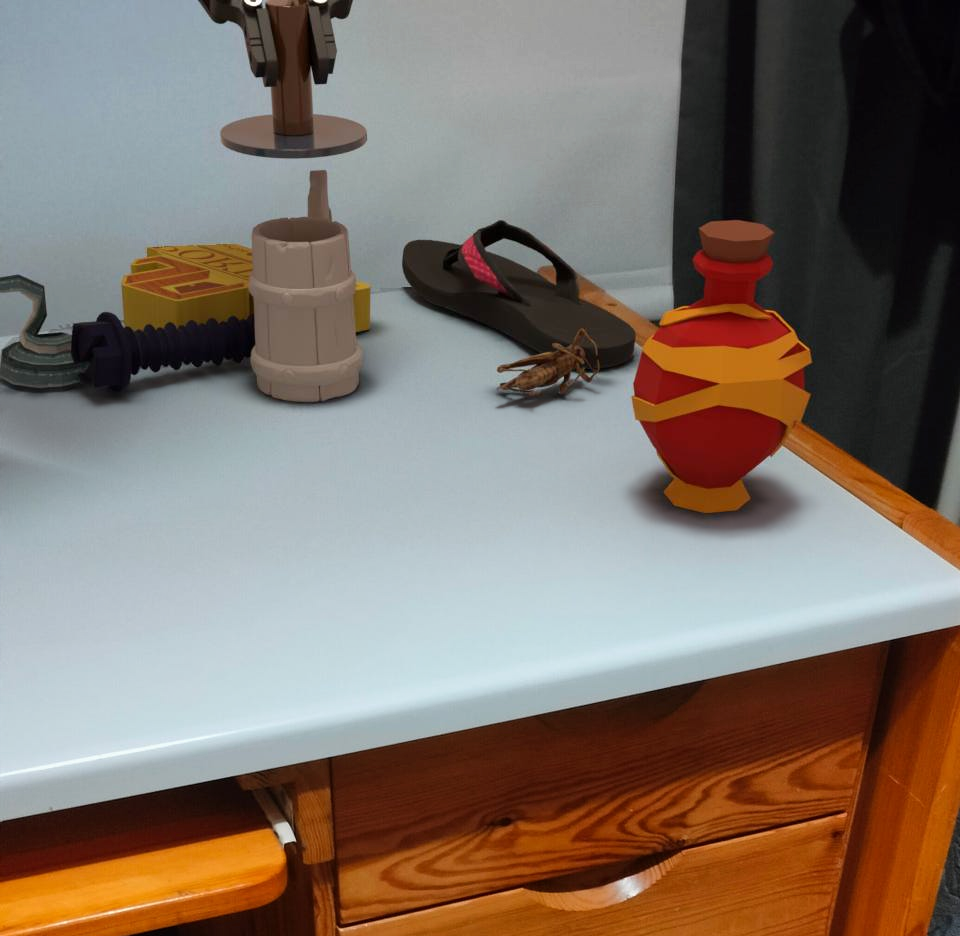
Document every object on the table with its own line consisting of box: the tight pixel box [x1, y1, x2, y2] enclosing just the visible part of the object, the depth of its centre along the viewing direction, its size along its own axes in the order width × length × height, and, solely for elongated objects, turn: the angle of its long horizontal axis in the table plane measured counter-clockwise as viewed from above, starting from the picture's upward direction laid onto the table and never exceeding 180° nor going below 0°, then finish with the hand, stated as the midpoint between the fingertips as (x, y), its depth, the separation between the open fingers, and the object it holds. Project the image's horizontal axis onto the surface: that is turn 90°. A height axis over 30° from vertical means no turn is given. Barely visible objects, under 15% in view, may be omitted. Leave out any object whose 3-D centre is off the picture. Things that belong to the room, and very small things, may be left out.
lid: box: [219, 0, 368, 160], centre depth 103 cm, size 9×9×8 cm
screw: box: [71, 311, 256, 394], centre depth 114 cm, size 18×5×5 cm
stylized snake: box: [0, 274, 90, 389], centre depth 113 cm, size 7×20×6 cm, turn 121°
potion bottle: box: [630, 219, 813, 514], centre depth 95 cm, size 10×10×15 cm
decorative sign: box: [120, 243, 371, 333], centre depth 122 cm, size 20×3×15 cm
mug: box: [249, 169, 364, 403], centre depth 111 cm, size 8×12×12 cm, turn 172°
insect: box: [496, 318, 601, 396], centre depth 112 cm, size 4×8×5 cm
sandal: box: [401, 219, 637, 370], centre depth 122 cm, size 10×25×6 cm, turn 34°
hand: (297, 76), depth 101 cm, fingers closed on lid, 2 cm apart
